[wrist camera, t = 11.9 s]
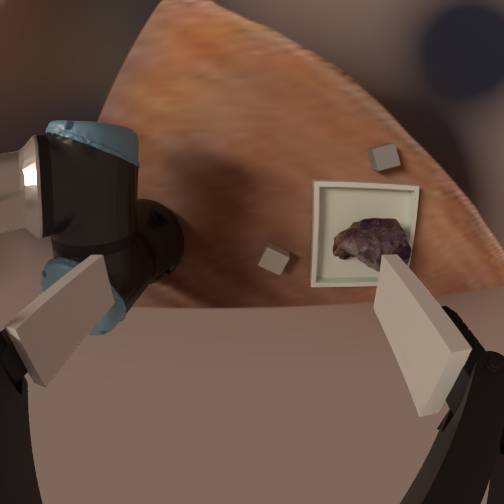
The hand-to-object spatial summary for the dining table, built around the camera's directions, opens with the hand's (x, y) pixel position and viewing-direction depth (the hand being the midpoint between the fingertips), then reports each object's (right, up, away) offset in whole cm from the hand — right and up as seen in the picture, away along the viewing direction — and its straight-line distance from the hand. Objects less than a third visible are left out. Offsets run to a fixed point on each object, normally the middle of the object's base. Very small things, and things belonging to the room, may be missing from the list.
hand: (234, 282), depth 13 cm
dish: (+19, +5, +34) cm, 39 cm away
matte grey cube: (+5, +1, +37) cm, 37 cm away
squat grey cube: (+21, +17, +29) cm, 40 cm away
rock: (+20, +4, +34) cm, 39 cm away
